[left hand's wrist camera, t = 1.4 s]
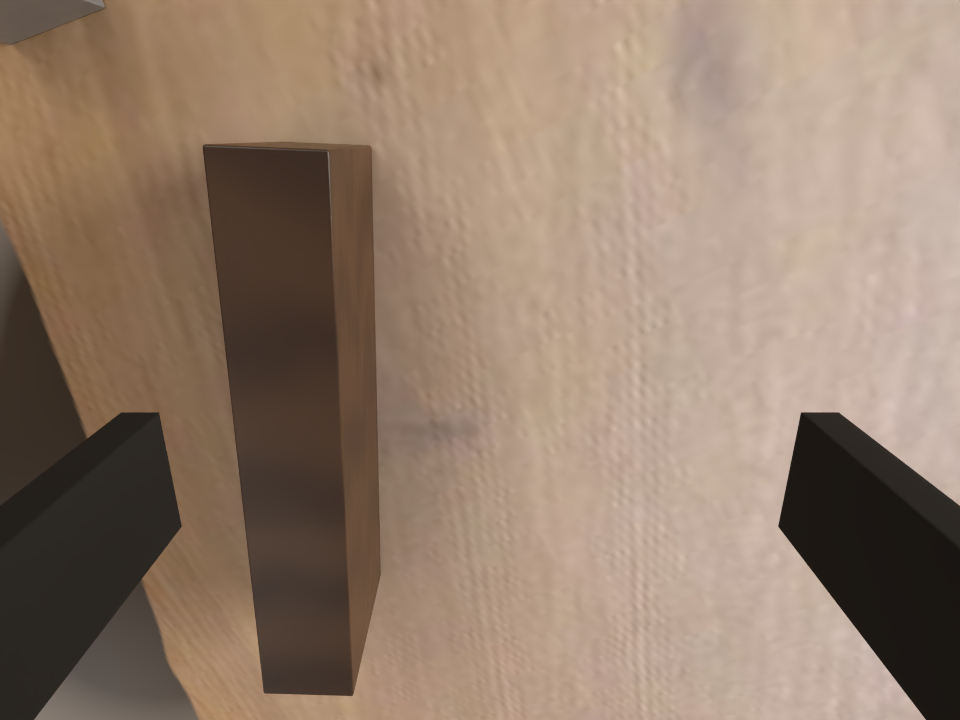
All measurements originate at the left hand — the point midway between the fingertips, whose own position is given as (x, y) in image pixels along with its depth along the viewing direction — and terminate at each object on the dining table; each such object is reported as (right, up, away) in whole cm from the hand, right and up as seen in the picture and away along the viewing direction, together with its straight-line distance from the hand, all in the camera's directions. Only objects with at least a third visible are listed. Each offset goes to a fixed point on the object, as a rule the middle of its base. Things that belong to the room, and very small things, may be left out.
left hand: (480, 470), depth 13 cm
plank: (-8, +1, +22) cm, 23 cm away
